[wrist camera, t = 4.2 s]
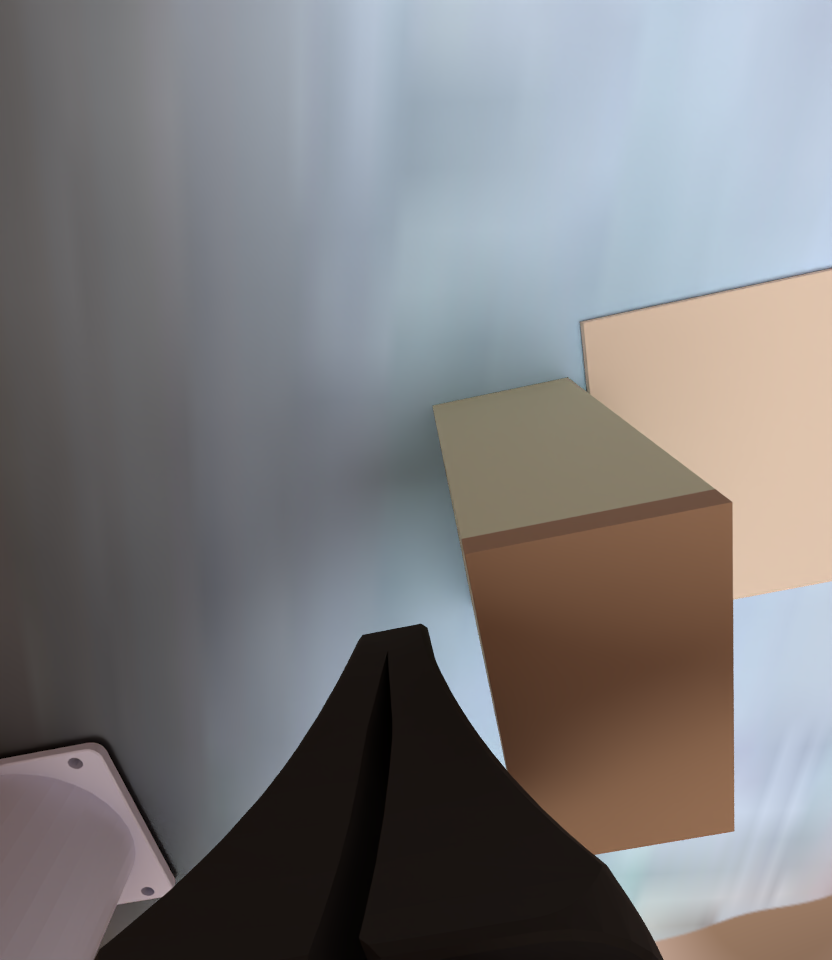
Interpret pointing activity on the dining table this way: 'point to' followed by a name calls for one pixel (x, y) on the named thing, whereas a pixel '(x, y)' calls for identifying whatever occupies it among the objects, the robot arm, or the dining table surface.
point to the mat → (737, 411)
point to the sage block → (598, 613)
